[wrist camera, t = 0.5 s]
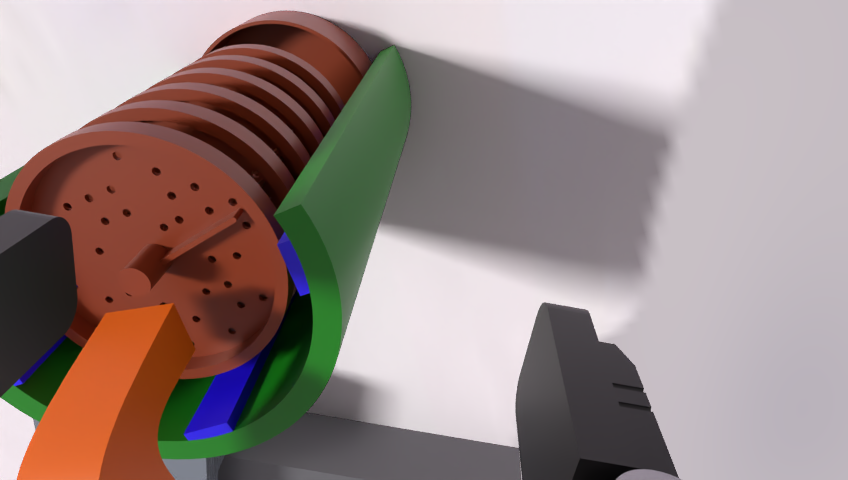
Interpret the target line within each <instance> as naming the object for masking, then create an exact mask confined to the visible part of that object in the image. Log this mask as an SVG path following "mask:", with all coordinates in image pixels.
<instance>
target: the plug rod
mask: <svg viewBox="0 0 848 480" xmlns="http://www.w3.org/2000/svg"><path fill="white" fill-rule="evenodd" d="M218 480H521V470H520V457H519V448H516V447H509V446H503V445H497V444H491V443H485V442H479V441H473V440H467V439H461V438H455V437H449V436H443V435H437V434H431V433H425V432H419V431H413V430H407V429H401V428H395V427H389V426H383V425H377V424H371V423H365V422H359V421H353V420H348V419H342V418H336V417H330V416H324V415H318V414H312V413H305V414H304V415H303V416H302V417H301V418H300V419H299V420H298V421H296V422H295V423H294V424H293V425H291V426H290V427H289V428H287V429H286V430H284V431H283V432H281V433H280V434H278V435H277V436H275V437H273V438H271V439H269V440H267V441H265V442H263V443H261V444H259V445H256V446H254V447H251V448H248V449H245V450H242V451H239V452H235V453H231V454H227V455H225V456H224V459H223V461H222V463H221V465H220V468H219V470H218Z"/></svg>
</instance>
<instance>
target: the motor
mask: <svg viewBox="0 0 848 480" xmlns="http://www.w3.org/2000/svg"><path fill="white" fill-rule="evenodd" d="M410 116H411V96H410V88H409V82H408V78H407V74H406V71H405V67H404V65H403V62H402V59H401V57H400V55H399V53H398V51H397V49H396V47H395V45H393V46H391V47H389V48H387V49H384V50H382V51H380V53H379V54H378V56H377V57H376V59H375V60H374V62H373V63H371V62H370V60H369V58H368V57H367V55H366V53H365V52H364V51H363V49H362V48H361V47H360V46H359V45H358V43H357V42H356V41H355V40H354V39H353V38H352V37H351V36H349V35H348V34H347V33H346V32H345V31H343V30H342V29H341V28H339V27H338V26H336V25H334V24H333V23H331V22H329V21H327V20H325V19H323V18H320V17H318V16H315V15H312V14H308V13H304V12H297V11H276V12H270V13H266V14H262V15H259V16H257V17H254V18H252V19H250V20H248V21H246V22H245V23H243V24H241V25H239V26H237V27H235V28H233V29H232V30H230V31H228V32H226V33H225V34H223V35H222V36H221V37H219V38H218V39H217V40H216V41H215V42H214V43H213V44H212V45H211V46H210V47H209V48H208V49H207V51H206V52H205V53H204V55H203V56H202V58H200V59H198V60H197V61H195V62H194V63H192V64H190V65H188V66H186V67H184V68H183V69H181V70H179V71H177V72H176V73H174V74H173V75H171V76H169V77H167V78H166V79H164V80H162V81H160V82H158V83H157V84H155V85H153V86H152V87H150V88H149V89H147V90H146V91H144V92H141V93H140V94H138V95H136V96H134V97H132V98H131V99H129V100H127V101H126V102H124V103H122V104H121V105H119V106H118V107H116V108H115V109H113V110H111V111H109V112H107V113H105V114H103V115H101V116H100V117H98V118H96V119H94V120H93V121H91V122H89V123H88V124H86V125H85V126H83V127H82V128H80V129H79V130H77V131H75V132H73V133H71V134H69V135H67V136H65V137H63V138H61V139H60V140H58V141H56V142H55V143H53V144H51V145H49V146H48V147H46V148H44V149H43V150H41V151H40V152H39V153H37V154H36V155H35V156H34V157H33V158H32V159H30V160H29V161H28V162H27V163H26V165H24V166H22V167H21V168H19V169H17V170H16V171H14V172H12V173H11V174H9V175H7V176H5V177H4V178H2V179H0V216H2V215H3V214H5V213H7V212H9V211H11V210H15V209H16V210H23V211H29V212H35V213H41V214H46V215H52V216H58V217H62V218H64V219H66V220H67V222H68V223H69V225H70V228H71V232H72V241H73V253H74V264H75V275H76V286H77V309H76V313H75V316H74V319H73V322H72V324H71V326H70V328H69V329H68V331H67V332H66V333H65V334H64V335H63V337H61V338H60V339H59V340H58V341H57V342H56V343H55V344H54V345H53V346H52V347H51V348H50V349H49V350H48V351H47V352H46V353H45V354H44V355H43V356H42V357H41V358H40V359H39V360H38V361H37V362H36V363H35V364H34V365H33V366H32V367H31V368H30V369H29V370H28V371H27V372H26V373H25V374H24V375H23V376H22V377H21V378H20V379H19V380H18V381H17V382H16V383H15V384H14V385H13V386H12V387H11V388H10V389H9V390H8V391H7V392H5V393H4V394H3V395H2V396H1V398H2V399H4V400H5V401H6V402H8V403H9V404H11V405H12V406H14V407H15V408H17V409H18V410H20V411H22V412H23V413H25V414H27V415H28V416H30V417H32V418H33V419H35V420H37V421H39V422H40V423H39V424H38V426H37V428H36V431H35V433H34V435H33V437H32V439H31V441H30V443H29V446H28V448H27V451H26V453H25V456H24V458H23V461H22V464H21V467H20V470H19V473H18V477H17V480H175V479H174V477H173V476H172V475H171V473H170V472H169V471H168V469H167V467H166V466H165V464H164V462H163V460H162V459H202V458H210V457H217V456H222V455H227V454H231V453H235V452H239V451H242V450H245V449H248V448H251V447H254V446H256V445H259V444H261V443H263V442H265V441H267V440H269V439H271V438H273V437H275V436H277V435H278V434H280V433H281V432H283V431H284V430H286V429H287V428H289V427H290V426H291V425H293V424H294V423H295V422H296V421H298V420H299V419H300V418H301V417H302V416H303V415H304V414H305V413H306V412H307V411H308V410H309V409H310V408H311V406H312V405H313V404H314V403H315V402H316V400H317V399H318V397H319V396H320V395H321V393H322V391H323V390H324V388H325V387H326V385H327V383H328V381H329V379H330V377H331V374H332V372H333V369H334V366H335V364H336V360H337V357H338V354H339V351H340V348H341V345H342V341H343V338H344V335H345V332H346V329H347V325H348V322H349V319H350V316H351V313H352V309H353V306H354V303H355V300H356V297H357V293H358V290H359V287H360V284H361V281H362V277H363V274H364V271H365V268H366V265H367V261H368V258H369V255H370V252H371V249H372V245H373V242H374V239H375V236H376V233H377V229H378V226H379V223H380V220H381V217H382V213H383V210H384V207H385V204H386V201H387V197H388V194H389V191H390V188H391V185H392V181H393V178H394V175H395V172H396V169H397V165H398V162H399V159H400V156H401V153H402V149H403V146H404V143H405V140H406V136H407V133H408V129H409V124H410Z"/></svg>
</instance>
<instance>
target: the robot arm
mask: <svg viewBox="0 0 848 480" xmlns="http://www.w3.org/2000/svg"><path fill="white" fill-rule="evenodd" d="M76 309H77V286H76V275H75V264H74V253H73V241H72V232H71V228H70V225H69V223H68V222H67V220H66V219H64V218H62V217H58V216H52V215H46V214H41V213H35V212H29V211H23V210H16V209H15V210H11V211H9V212H7V213H5V214H3V215H2V216H0V397H1V396H2V395H3V394H4V393H5V392H7V391H8V390H9V389H10V388H11V387H12V386H13V385H14V384H15V383H16V382H17V381H18V380H19V379H20V378H21V377H22V376H23V375H24V374H25V373H26V372H27V371H28V370H29V369H30V368H31V367H32V366H33V365H34V364H35V363H36V362H37V361H38V360H39V359H40V358H41V357H42V356H43V355H44V354H45V353H46V352H47V351H48V350H49V349H50V348H51V347H52V346H53V345H54V344H55V343H56V342H57V341H58V340H59V339H60V338H61V337H63V335H64V334H65V333H66V332H67V331H68V329H69V328H70V326H71V324H72V322H73V319H74V316H75V313H76ZM643 389H644V388H643V385H642V383H641V380H640V377H639V375H638V373H637V370H636V367H635V365H634V364H633V363H632V362H631V361H630V360H629V359H628V358H627V357H626V356H625V355H624V354H623V352H622V351H621V350H620V349H619V348H618V347H617V346H616V345H615V344H610V343H604V342H599V341H598V338H597V335H596V332H595V329H594V326H593V323H592V319H591V316H590V314H589V312H588V310H585V309H579V308H573V307H568V306H562V305H556V304H550V303H543V304H542V305H541V306H540V308H539V311H538V314H537V317H536V320H535V324H534V327H533V331H532V334H531V338H530V341H529V345H528V348H527V352H526V355H525V359H524V362H523V366H522V369H521V373H520V377H519V381H518V386H517V393H516V422H517V432H518V441H519V451H520V461H521V471H522V480H681V479H679V477H678V475H677V472H676V470H675V467H674V464H673V462H672V459H671V457H670V454H669V452H668V449H667V446H666V444H665V442H664V439H663V436H662V434H661V431H660V429H659V426H658V423H657V421H656V418H655V416H654V413H653V412H651V406H650V403H649V400H648V398H647V396H646V393H644V392H643Z"/></svg>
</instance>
